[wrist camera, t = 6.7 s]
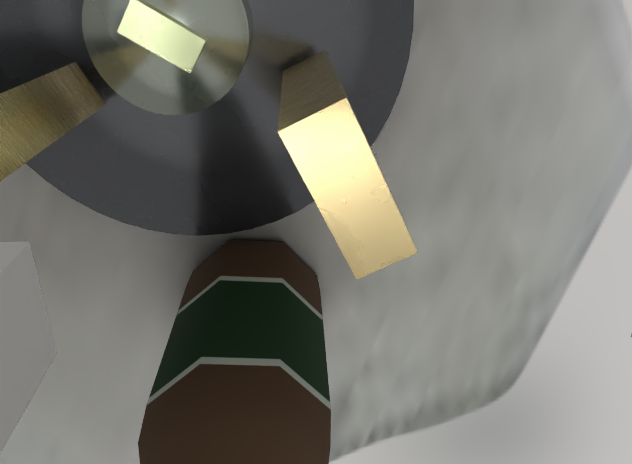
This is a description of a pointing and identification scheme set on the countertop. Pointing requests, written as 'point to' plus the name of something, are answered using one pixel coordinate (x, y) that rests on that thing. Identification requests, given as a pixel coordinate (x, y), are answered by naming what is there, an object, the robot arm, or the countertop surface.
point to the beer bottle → (243, 365)
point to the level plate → (215, 138)
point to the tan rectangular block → (340, 167)
